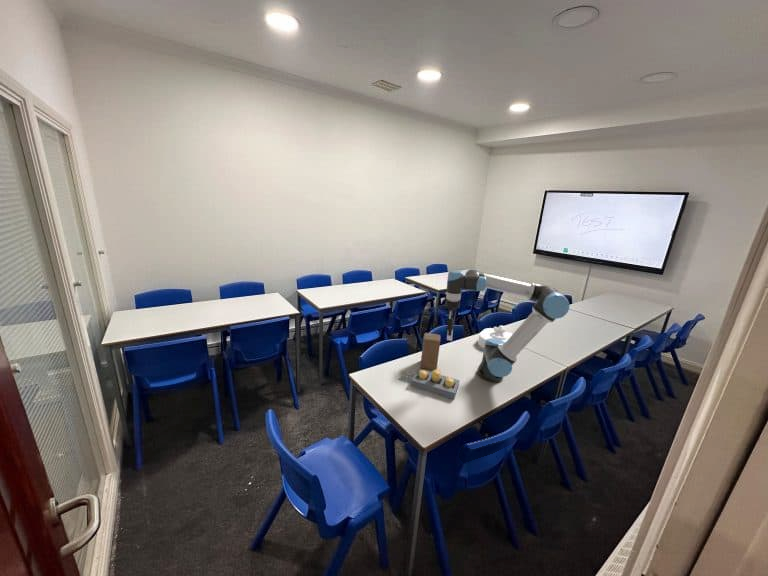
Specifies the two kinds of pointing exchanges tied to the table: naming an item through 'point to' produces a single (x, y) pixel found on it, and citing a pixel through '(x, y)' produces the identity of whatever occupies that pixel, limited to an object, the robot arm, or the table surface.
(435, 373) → the button
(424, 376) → the button
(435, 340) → the wooden block
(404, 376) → the pattern tile
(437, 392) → the button board
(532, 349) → the table surface
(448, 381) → the button
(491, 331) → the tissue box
